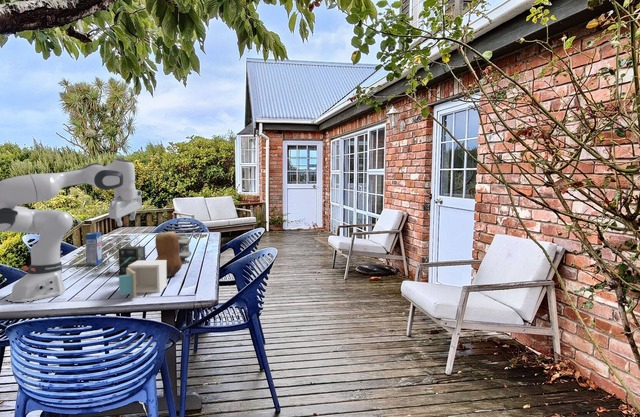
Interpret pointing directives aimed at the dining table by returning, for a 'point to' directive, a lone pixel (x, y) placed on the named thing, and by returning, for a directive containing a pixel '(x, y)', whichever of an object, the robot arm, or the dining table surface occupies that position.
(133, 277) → the flap
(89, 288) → the dining table surface
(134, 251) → the tampon box
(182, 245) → the apothecary jar
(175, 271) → the butternut squash
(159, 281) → the carton
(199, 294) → the dining table surface
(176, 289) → the dining table surface
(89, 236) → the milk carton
